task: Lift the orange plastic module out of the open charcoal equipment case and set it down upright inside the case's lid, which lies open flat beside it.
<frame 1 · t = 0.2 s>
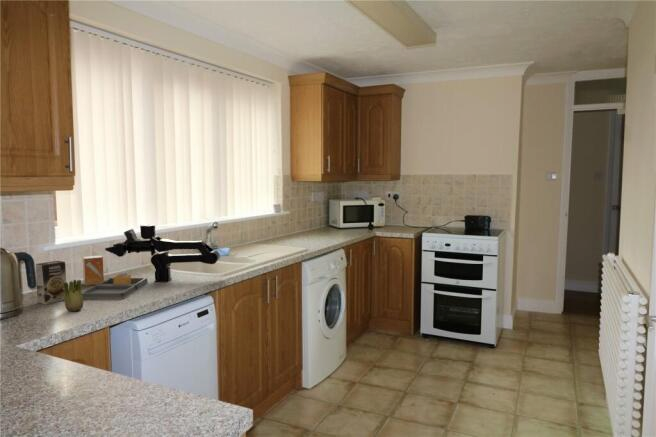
hand: (109, 247, 229), 17 cm above the countertop, tool horizontal, fingers open, 9 cm apart
fennel bulb: (74, 311, 182), on the countertop
small box: (93, 284, 225), on the countertop
module: (122, 286, 220), resting in equipment case
coffee box: (52, 301, 195), on the countertop
equipment case: (122, 286, 219), on the countertop
case lid: (108, 294, 205), on the countertop
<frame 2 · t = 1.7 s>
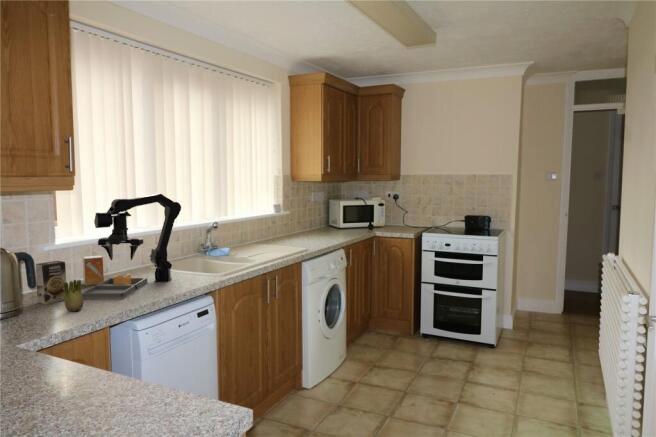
hand: (121, 259, 218), 13 cm above the countertop, tool pointing down, fingers open, 9 cm apart
nothing on the countertop moved.
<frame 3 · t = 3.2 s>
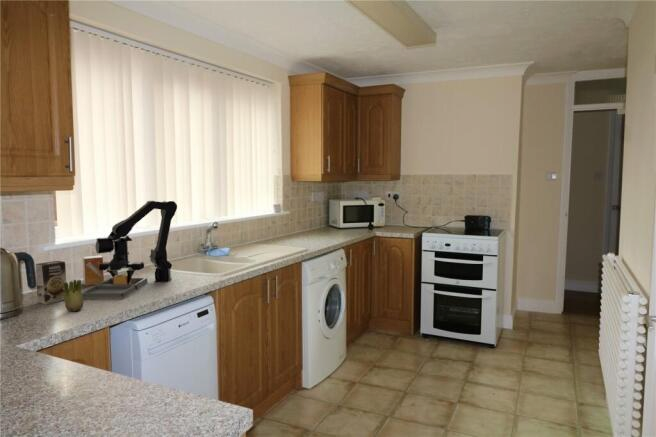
hand: (122, 284, 219), 1 cm above the countertop, tool pointing down, fingers closed on module, 5 cm apart
module: (122, 286, 219), resting in equipment case, touching gripper
everything else where it was.
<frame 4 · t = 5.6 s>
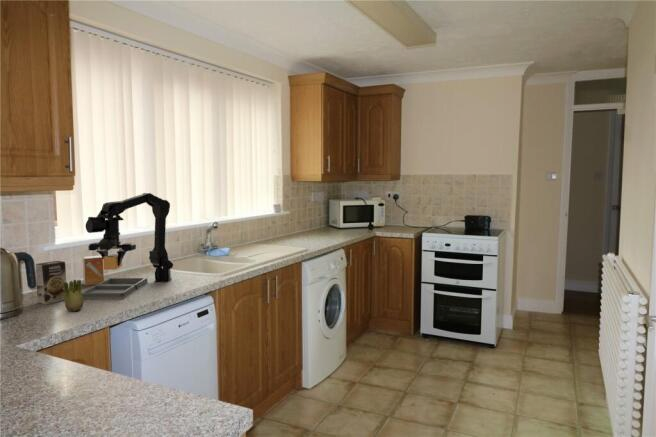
hand: (112, 265, 210), 11 cm above the countertop, tool pointing down, fingers closed on module, 5 cm apart
module: (113, 268, 210), point 10 cm above the countertop, touching gripper
everything else where it was.
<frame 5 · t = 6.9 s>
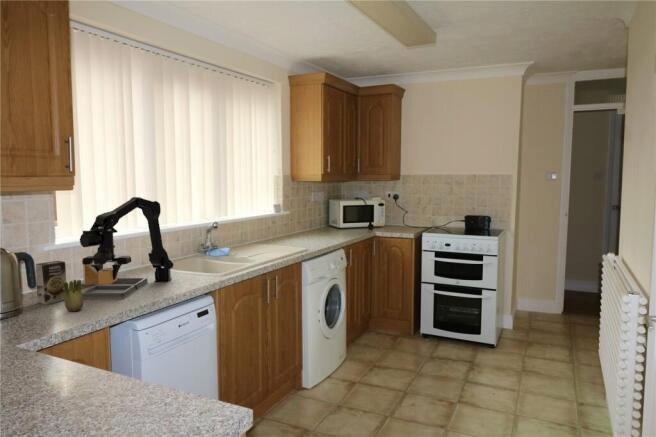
hand: (108, 279, 204), 7 cm above the countertop, tool pointing down, fingers closed on module, 5 cm apart
module: (108, 282, 204), point 6 cm above the countertop, touching gripper
everything else where it was.
when the fingers open (3 cm above the countertop, at t = 7.9 s): module drops 1 cm, resting on case lid.
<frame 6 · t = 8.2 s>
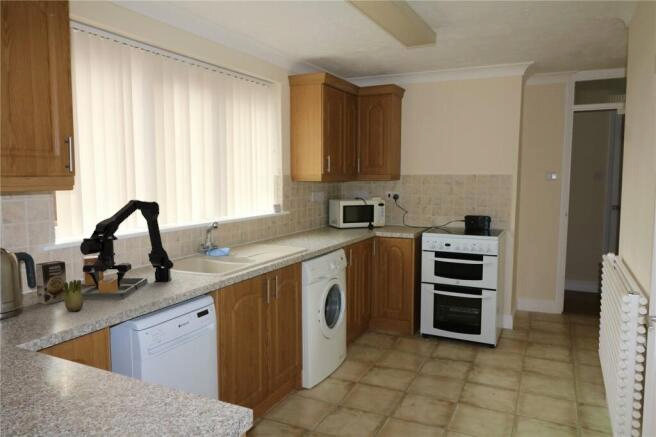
hand: (108, 287, 204), 3 cm above the countertop, tool pointing down, fingers open, 9 cm apart
module: (108, 292, 205), point 1 cm above the countertop, touching case lid
everything else where it was.
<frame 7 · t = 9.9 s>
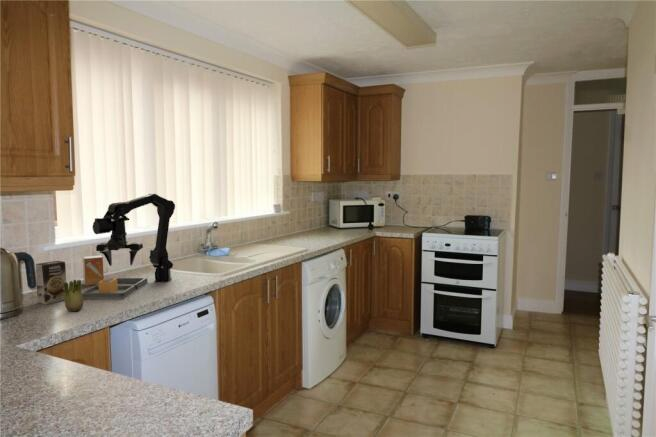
hand: (121, 265, 213), 11 cm above the countertop, tool pointing down, fingers open, 9 cm apart
nothing on the countertop moved.
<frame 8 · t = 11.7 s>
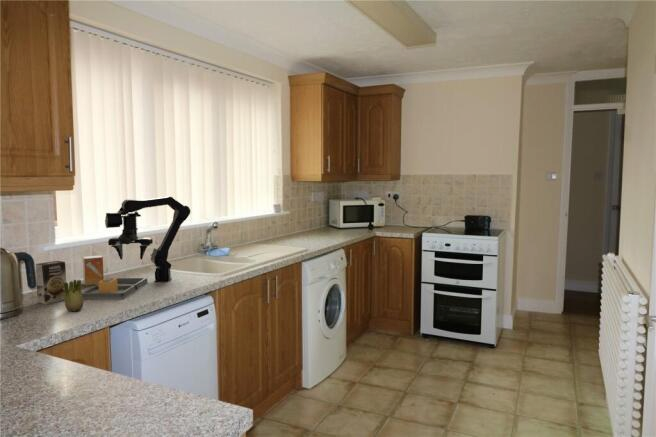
hand: (131, 259, 222), 12 cm above the countertop, tool pointing down, fingers open, 9 cm apart
nothing on the countertop moved.
at the end: module inside the target area on the case lid (0.1 cm from its centre), point 1.0 cm above the case lid's base; module tilted 0°; the gripper is holding nothing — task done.
